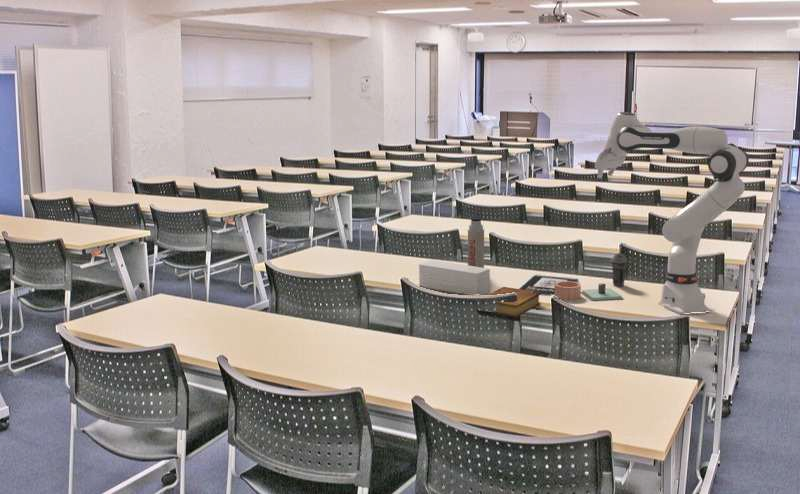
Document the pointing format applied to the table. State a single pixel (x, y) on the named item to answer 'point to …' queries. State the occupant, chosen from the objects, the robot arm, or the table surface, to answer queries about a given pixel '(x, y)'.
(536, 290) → the sketchbook
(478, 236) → the thermos bottle
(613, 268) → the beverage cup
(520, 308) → the diary
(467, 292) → the white oblong block
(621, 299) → the mat
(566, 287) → the bowl
